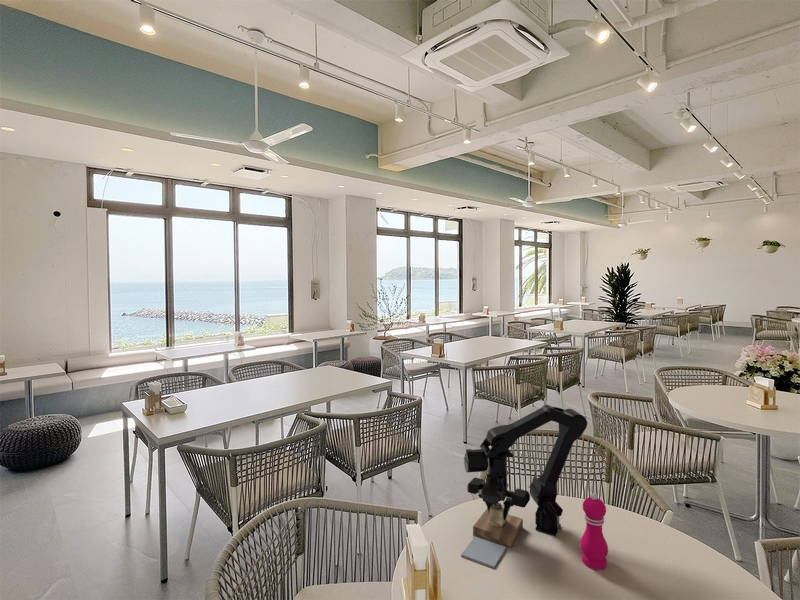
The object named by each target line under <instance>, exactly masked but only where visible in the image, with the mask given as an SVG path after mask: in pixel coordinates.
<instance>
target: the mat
mask: <svg viewBox="0 0 800 600" xmlns="http://www.w3.org/2000/svg"><path fill="white" fill-rule="evenodd" d="M506 550H507V547H506V546H503V545H500V544H497V543H494V542H491V541H488V540H485V539H482V538H479V537H476V536H473V538H472V540H471V541H470V542H469V543H468V544H467V546H466V547H465V549H464V550H463V551H462V553H461V555H460V556H461V558H465V559H467V560H470V561H473V562H475V563H478V564H480V565H484V566H486V567H489V568H491V569H495V568H496V566H497V565H498V563H499V562H500V560H501V558H502V556H503V555H504V554H505V551H506Z"/></svg>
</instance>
